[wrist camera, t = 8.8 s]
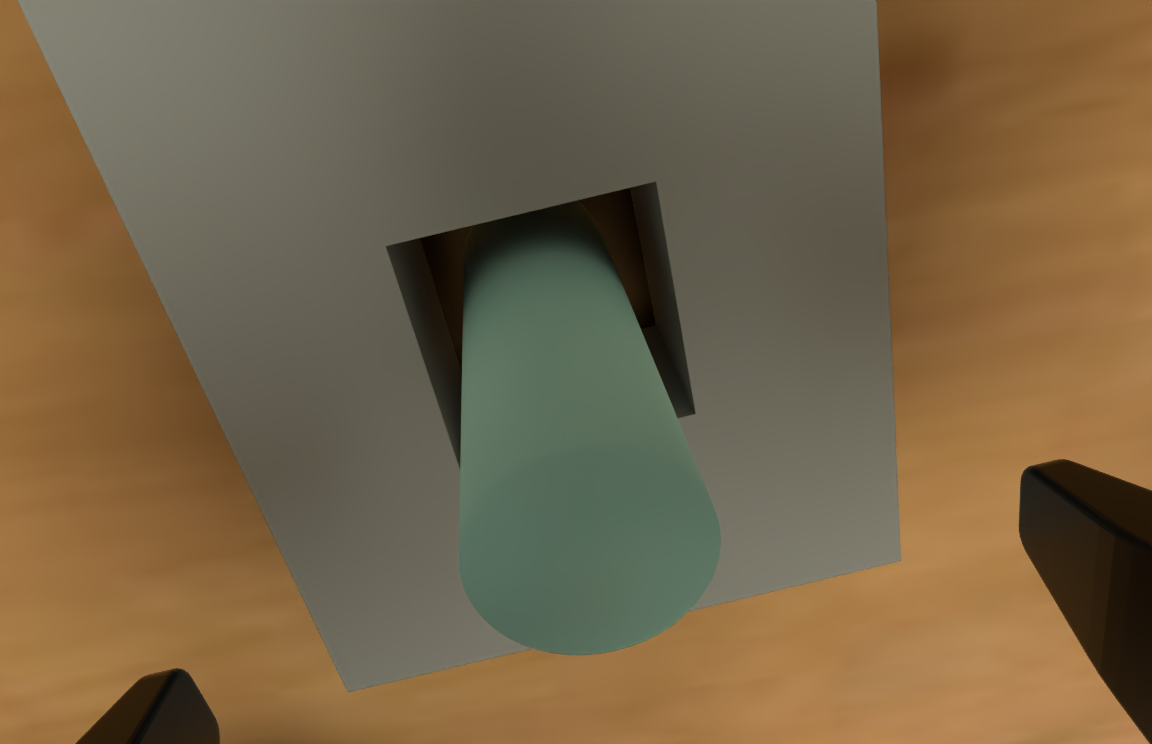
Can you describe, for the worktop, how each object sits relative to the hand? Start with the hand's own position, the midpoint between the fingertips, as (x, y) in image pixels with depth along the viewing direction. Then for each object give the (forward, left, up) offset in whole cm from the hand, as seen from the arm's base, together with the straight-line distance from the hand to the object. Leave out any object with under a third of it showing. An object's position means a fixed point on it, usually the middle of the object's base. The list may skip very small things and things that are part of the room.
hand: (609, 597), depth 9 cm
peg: (0, 0, -11) cm, 11 cm away
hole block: (0, 0, -11) cm, 11 cm away
